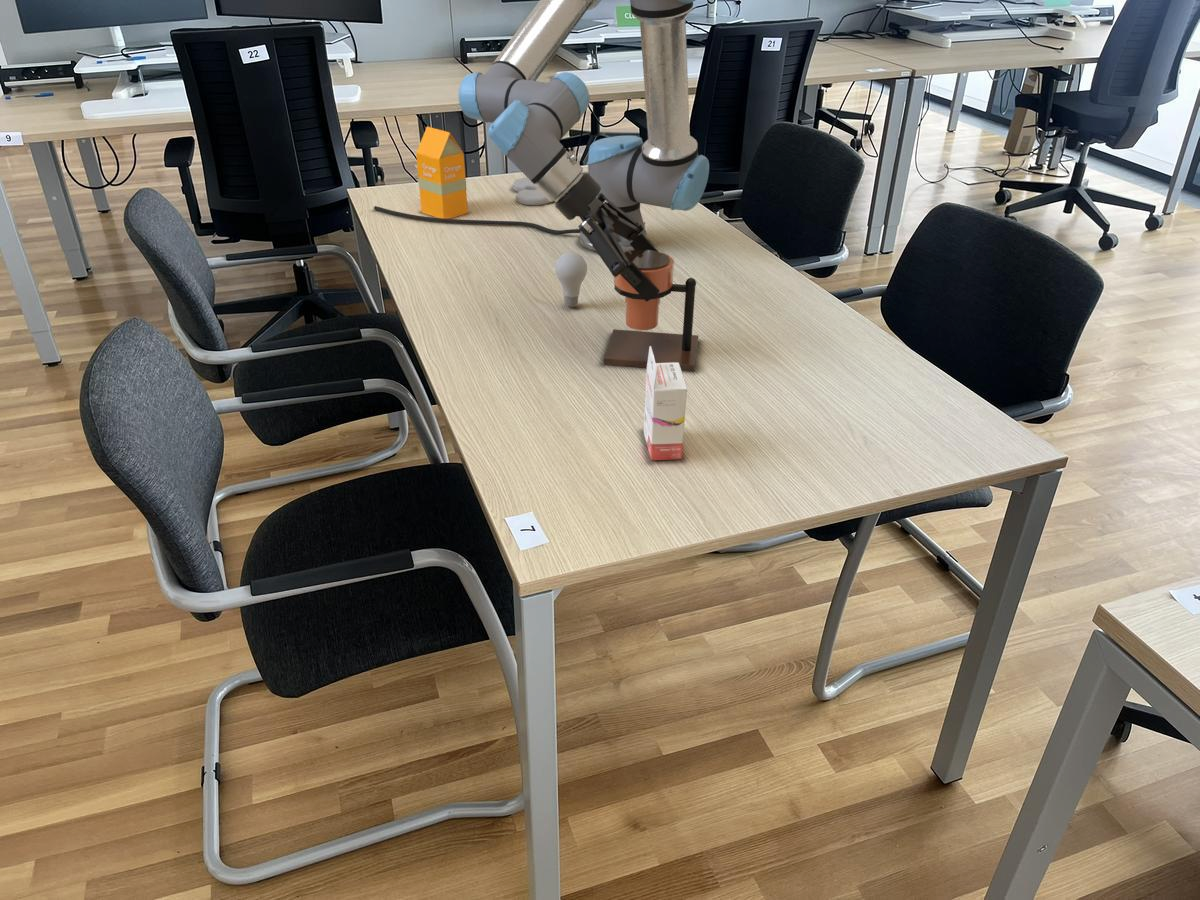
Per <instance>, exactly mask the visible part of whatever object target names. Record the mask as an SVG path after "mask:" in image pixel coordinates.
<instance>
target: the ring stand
mask: <svg viewBox="0 0 1200 900" xmlns="http://www.w3.org/2000/svg"><path fill="white" fill-rule="evenodd" d="M696 286H697V280H696V279H695V278H693V277H689V278H686V280H685V284H681V283H680V284H679V283H673V285H672V287H671V288H670V289H669V290H667V291H664V292H661V293H657V294H656V295H655V296H654V297H652V298H651V299H657V298H660V299H663V298H664V297H667V296H668V295H670V294H672V292H673V293H685V294H684V309H683V310H684V311H683V324H682V334H683V338H682V350H684V351H690V350H691V341H692V335H693V326H694V325H693V324H694V311H695V298H696V297H695V296H696ZM613 288H614V291H615V292H617V294H619V296H623V297H628V298H632V299H641V300H644V299H643V297H642V296H641V295H640V294H634V293H629V292H625V291H622V290H620V289H619V288H617V287H616V286H615V285H614V287H613ZM651 299H650V300H651Z"/></svg>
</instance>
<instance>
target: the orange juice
mask: <svg viewBox="0 0 1200 900" xmlns="http://www.w3.org/2000/svg"><path fill="white" fill-rule="evenodd" d="M415 156H416V157H415V158H416V168H417V176H418V177H417V179H418V181H417V182H418V188H419V198H420V200H419V201H420V209H421V213H423V214H425V215H429V216H430V217H433V218H445V219H454V218H456V217H459V216H463V215H466V214H468V213H469V210H468V194H467V179H466V167H465V166H466V165H465V164H466V163H465V153H464V151H463V149H461V147H460V145H459V144H458V142H457V141H456V139H455V138H454V137H453V135H452V133H451V132H450V131H447V130H442V129H440V128H435V127H431V126H428V125H427V126H426V127H425V130H424V133H423V135H422V137H421V140H420V143H419V145H418V148H417V150H416V152H415Z"/></svg>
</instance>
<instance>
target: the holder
mask: <svg viewBox="0 0 1200 900" xmlns="http://www.w3.org/2000/svg"><path fill="white" fill-rule="evenodd" d="M582 173H583V174H584V173H588V170H586V171H582ZM512 190H514V192H517V193H516V196H515V197H516V201H517V202H518V203H519V204H521V205H525V206H543V205H547V204H550V203H554V202H555V201H552V202H550V201H549V200H548V199H547V198H546V197H545V196H544V195H543V194H542V193H541V192H540V190H539V189H538V188H537V187H536V186H535V185H534V184H533V183H532V182H531V180H530V179H529V178H528V177H521V178H517V179H515V180H514V181H513V182H512Z"/></svg>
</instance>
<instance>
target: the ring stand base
mask: <svg viewBox="0 0 1200 900" xmlns="http://www.w3.org/2000/svg"><path fill="white" fill-rule="evenodd" d="M682 338H683V333H682V334H681V333H669V332H656V331H655V332H654V331H644V330H629V329H628V330H627V329H612V332H611V335H610V339H609V341H608V345H607V348H606V352H605V354H604V357H603V365H606V366H617V367H618V366H619V367H632V368H644V369H647V362H648V355H649V348H650V346H651V348H652V351H653V355H654V359H655V362H656V363H679V365H680V368H681V371H683V372H695V367H696V360H697V354H698V346H699V338H700V337H699V335H697V334H694V335H693V334H692V341H691V350H690V351H684V350H682ZM651 363H652V362H651Z"/></svg>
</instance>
